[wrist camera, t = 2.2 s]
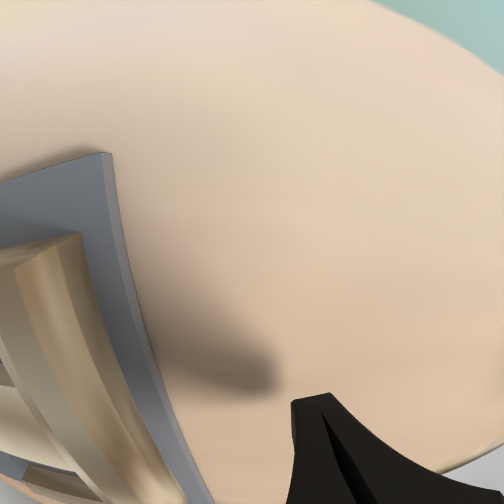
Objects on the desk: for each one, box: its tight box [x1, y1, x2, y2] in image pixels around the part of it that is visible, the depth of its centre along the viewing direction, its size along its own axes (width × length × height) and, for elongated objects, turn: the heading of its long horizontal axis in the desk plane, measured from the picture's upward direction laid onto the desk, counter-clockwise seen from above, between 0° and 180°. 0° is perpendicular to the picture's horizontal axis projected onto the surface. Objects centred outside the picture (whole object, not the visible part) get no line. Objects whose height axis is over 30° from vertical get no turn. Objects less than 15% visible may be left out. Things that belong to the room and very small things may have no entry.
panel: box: [0, 232, 189, 504], centre depth 7 cm, size 14×10×3 cm
